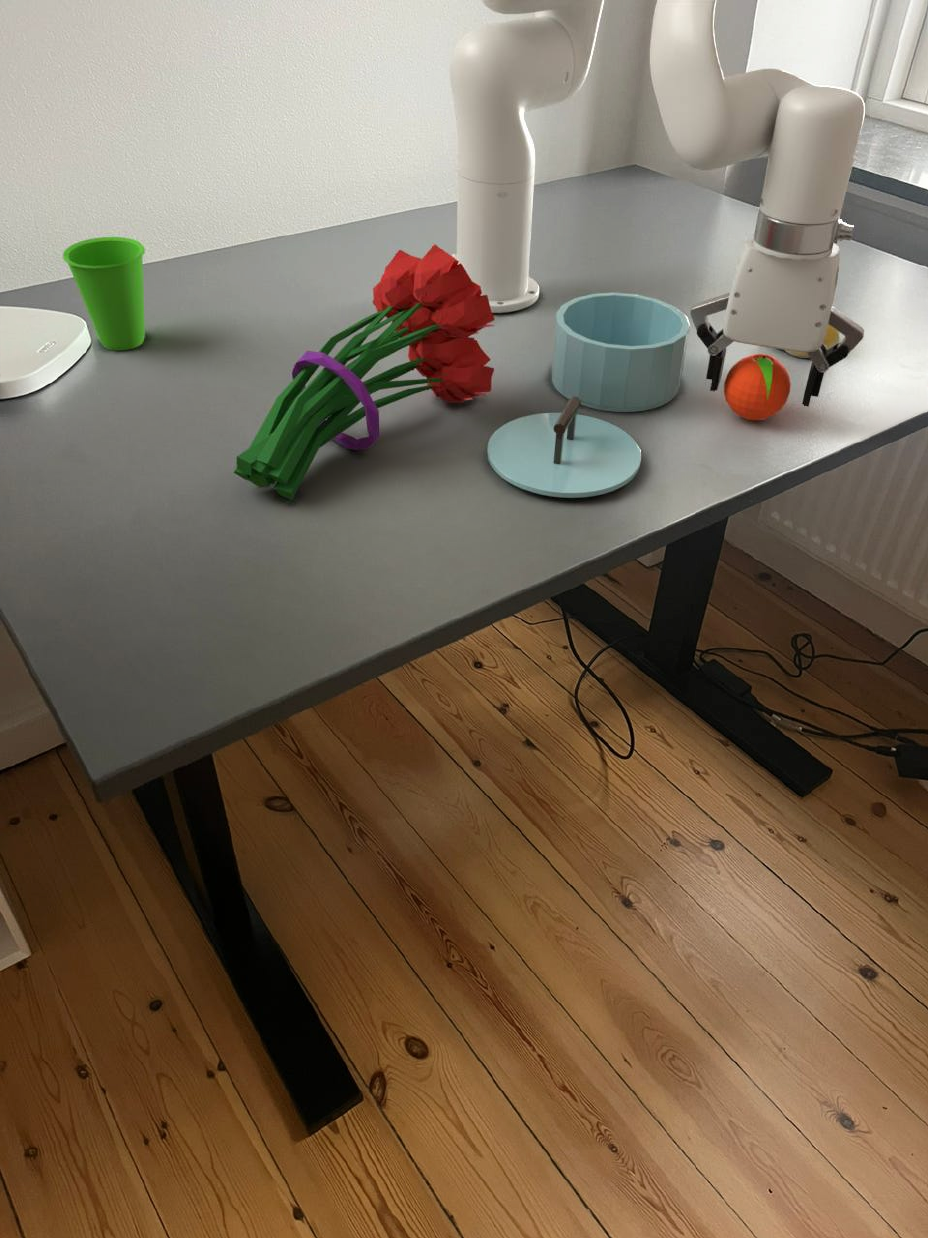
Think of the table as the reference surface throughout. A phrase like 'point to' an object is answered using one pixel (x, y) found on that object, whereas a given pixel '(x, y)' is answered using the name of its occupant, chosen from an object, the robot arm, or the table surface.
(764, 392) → the clementine
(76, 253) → the cup
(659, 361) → the pot
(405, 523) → the table surface
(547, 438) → the lid
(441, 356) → the bouquet
